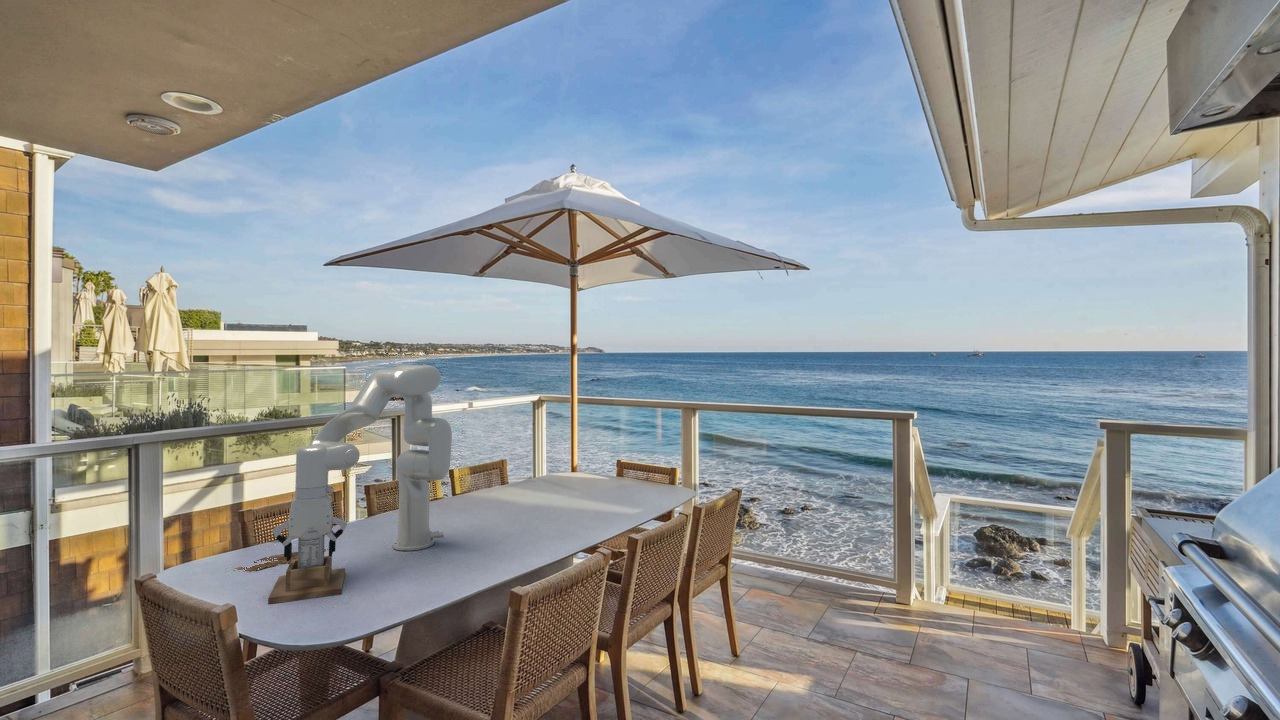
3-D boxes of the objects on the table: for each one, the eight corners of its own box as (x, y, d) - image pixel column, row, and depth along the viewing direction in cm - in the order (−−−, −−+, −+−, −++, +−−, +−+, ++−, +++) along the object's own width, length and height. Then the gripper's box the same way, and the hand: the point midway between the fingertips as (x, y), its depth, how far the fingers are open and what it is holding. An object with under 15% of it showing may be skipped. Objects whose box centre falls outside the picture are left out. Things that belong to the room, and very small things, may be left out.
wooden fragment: (238, 576, 157) (238, 572, 157) (228, 567, 164) (228, 563, 164) (336, 555, 176) (336, 551, 176) (323, 547, 183) (323, 544, 183)
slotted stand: (345, 573, 159) (345, 550, 159) (341, 594, 145) (341, 568, 145) (279, 581, 153) (279, 557, 153) (268, 604, 138) (268, 577, 138)
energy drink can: (327, 577, 152) (329, 522, 152) (315, 586, 146) (317, 528, 146) (305, 577, 152) (306, 522, 152) (292, 586, 146) (293, 528, 146)
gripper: (348, 487, 156) (347, 549, 156) (276, 492, 149) (274, 556, 149) (347, 493, 149) (345, 557, 149) (270, 498, 142) (269, 566, 142)
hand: (310, 557), depth 149 cm, fingers open, 9 cm apart
